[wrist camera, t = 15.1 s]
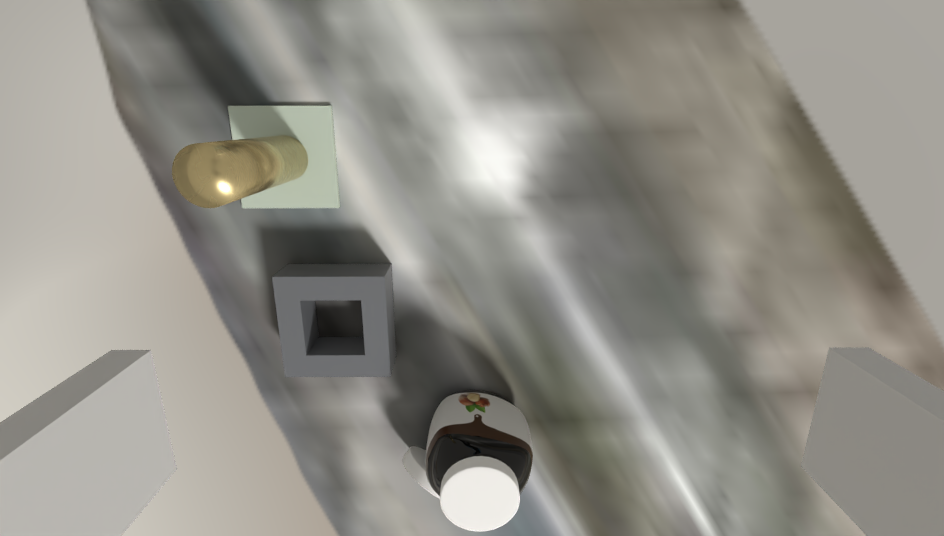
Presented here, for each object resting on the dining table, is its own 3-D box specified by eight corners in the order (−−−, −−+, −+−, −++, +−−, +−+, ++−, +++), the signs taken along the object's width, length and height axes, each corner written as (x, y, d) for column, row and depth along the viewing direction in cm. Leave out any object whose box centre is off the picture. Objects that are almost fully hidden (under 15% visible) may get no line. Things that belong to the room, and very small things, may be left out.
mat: (229, 105, 43) (227, 105, 42) (331, 105, 43) (330, 105, 42) (243, 207, 45) (242, 208, 45) (340, 207, 45) (339, 207, 45)
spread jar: (532, 397, 52) (549, 474, 40) (505, 483, 55) (514, 576, 44) (421, 374, 51) (408, 446, 40) (400, 462, 54) (382, 552, 43)
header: (287, 263, 47) (271, 276, 43) (391, 263, 47) (384, 276, 43) (299, 357, 50) (285, 376, 46) (396, 356, 50) (390, 376, 46)
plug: (260, 135, 43) (166, 143, 30) (305, 135, 43) (231, 143, 30) (266, 180, 44) (178, 208, 31) (310, 180, 44) (241, 208, 31)
